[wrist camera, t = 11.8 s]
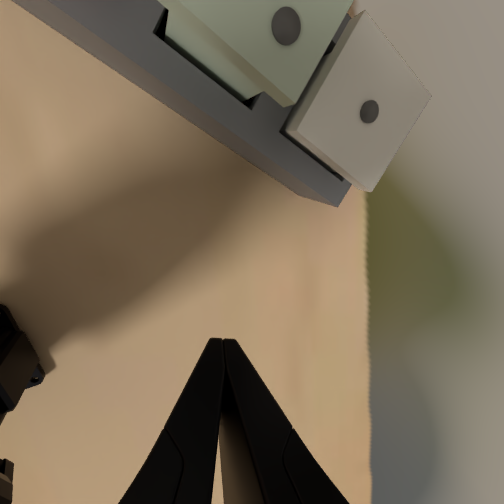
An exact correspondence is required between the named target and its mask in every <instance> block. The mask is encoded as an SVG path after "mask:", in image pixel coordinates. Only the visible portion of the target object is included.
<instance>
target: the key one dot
mask: <svg viewBox="0 0 504 504" xmlns="http://www.w3.org/2000/svg"><path fill="white" fill-rule="evenodd" d="M431 97H432V96H431V94H430V93H429V92H428V90H427V89H426V88H425V87H424V85H423V84H422V83H421V81H420V80H419V79H418V77H417V76H416V75H415V74H414V72H413V71H412V70H411V69H410V67H409V66H408V65H407V63H406V62H405V61H404V59H403V58H402V57H401V56H400V54H399V53H398V52H397V51H396V49H395V48H394V47H393V45H392V44H391V43H390V42H389V40H388V39H387V37H386V36H385V35H384V34H383V32H382V31H381V30H380V28H379V27H378V26H377V25H376V23H375V22H374V21H373V19H372V18H371V17H370V16H369V14H368V13H367V12H366V10H364V11H362V12H361V13H359V14H358V15H356V16H355V17H353V18H352V19H350V20H349V22H348V24H347V25H346V27H345V29H344V31H343V33H342V34H341V36H340V38H339V40H338V41H337V43H336V45H335V47H334V48H333V50H332V52H331V53H329V54H327V55H325V56H323V57H322V58H321V60H320V61H319V63H318V65H317V67H316V68H315V70H314V72H313V74H312V76H311V77H310V79H309V81H308V83H307V84H306V86H305V88H304V90H303V92H302V93H301V95H300V97H299V99H298V101H297V102H296V104H294V106H293V108H292V109H291V111H290V113H289V115H288V117H287V118H286V120H285V122H284V124H283V125H282V127H281V129H280V131H279V133H281V134H282V135H283V136H284V137H286V138H287V139H288V140H289V141H291V142H292V143H293V144H295V145H296V146H297V147H298V148H300V149H301V150H302V151H303V152H305V153H306V154H307V155H309V156H310V157H311V158H312V159H314V160H315V161H316V162H317V163H319V164H320V165H321V166H323V167H324V168H325V169H326V170H328V171H330V172H337V173H339V174H340V175H341V176H342V177H344V178H345V179H346V180H347V181H349V182H350V183H351V184H352V185H354V186H355V187H356V188H357V189H359V190H363V191H368V192H372V191H373V189H374V187H375V186H376V184H377V183H378V181H379V179H380V178H381V176H382V175H383V173H384V171H385V170H386V168H387V167H388V165H389V163H390V162H391V160H392V159H393V157H394V155H395V154H396V152H397V151H398V149H399V148H400V146H401V144H402V143H403V141H404V140H405V138H406V136H407V135H408V133H409V132H410V130H411V128H412V127H413V125H414V124H415V122H416V120H417V119H418V117H419V116H420V114H421V112H422V111H423V109H424V108H425V106H426V104H427V103H428V101H429V100H430V98H431Z"/></svg>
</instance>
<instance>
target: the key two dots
mask: <svg viewBox="0 0 504 504" xmlns="http://www.w3.org/2000/svg"><path fill="white" fill-rule="evenodd" d="M157 1H158V2H160V3H161V4H162V5H163V6H164V7H166V8H167V9H168V10H169V12H168V19H167V25H166V32H165V38H164V42H165V43H166V44H167V45H169V46H170V47H171V48H172V49H174V50H175V51H176V52H177V53H179V54H180V55H181V56H183V57H184V58H185V59H186V60H188V61H189V62H190V63H191V64H193V65H194V66H195V67H197V68H198V69H199V70H200V71H202V72H203V73H204V74H205V75H207V76H208V77H209V78H211V79H212V80H213V81H214V82H216V83H217V84H218V85H219V86H221V87H222V88H223V89H225V90H226V91H227V92H228V93H230V94H231V95H232V96H233V97H235V98H236V99H237V100H239V101H240V102H243V101H245V100H247V99H249V98H251V97H253V96H255V95H257V94H259V93H261V92H263V91H265V92H266V93H267V94H268V95H269V96H271V97H272V98H273V99H274V100H275V101H276V102H278V103H279V104H280V105H281V106H282V107H287V106H290V105H293V104H296V102H297V101H298V99H299V97H300V95H301V93H302V92H303V90H304V88H305V86H306V84H307V83H308V81H309V79H310V77H311V76H312V74H313V72H314V70H315V68H316V67H317V65H318V63H319V61H320V60H321V58H322V56H323V54H324V52H325V51H326V49H327V47H328V45H329V44H330V42H331V40H332V38H333V36H334V35H335V33H336V31H337V29H338V27H339V26H340V24H341V22H342V20H343V19H344V17H345V15H346V13H347V11H348V10H349V8H350V6H351V4H352V3H353V1H354V0H157Z"/></svg>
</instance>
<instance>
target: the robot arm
mask: <svg viewBox="0 0 504 504" xmlns="http://www.w3.org/2000/svg"><path fill="white" fill-rule="evenodd" d="M33 377H38V378H37V379H35V378H33ZM44 377H45V373H44V371H43V369H42V368H41V366H40V364H39V357H38V356H37V354H36V352H35V350H34V349H33V347H32V345H31V343H30V341H29V340H28V338H27V336H26V334H25V333H24V332H23V331H21V330H20V329H19V327H18V325H17V324H16V322H15V320H14V318H13V317H12V315H11V313H10V311H9V310H8V308H7V307H6V306H4V305H2V304H0V425H1V423H2V421H3V419H4V417H5V415H6V414H7V412H10V411H13V410H14V409H15V407H16V405H17V404H18V402H19V400H20V398H21V396H22V394H23V392H24V390H25V389H27V388H30V387H33V386H36V385H39V384H41V383H42V382H43V379H44ZM218 435H219V446H220V459H221V472H222V485H223V498H224V504H349V502H348V501H347V500H346V499H345V497H344V496H343V495H342V494H341V492H340V491H339V490H338V489H337V487H336V486H335V485H334V484H333V482H332V481H331V480H330V478H329V477H328V476H327V475H326V473H325V472H324V471H323V469H322V468H321V467H320V465H319V464H318V463H317V461H316V460H315V459H314V457H313V456H312V454H311V453H310V452H309V450H308V449H307V447H306V446H305V444H304V443H303V441H302V440H301V438H300V437H299V435H298V434H297V432H296V431H295V429H292V425H291V423H290V422H289V420H288V419H287V417H286V416H285V414H284V412H283V411H282V409H281V408H280V406H279V405H278V403H277V402H276V400H275V399H274V397H273V396H272V394H271V393H270V391H269V389H268V388H267V386H266V385H265V383H264V382H263V380H262V379H261V377H260V376H259V374H258V373H257V371H256V370H255V368H254V367H253V365H252V363H251V362H250V360H249V359H248V357H247V356H246V354H245V353H244V351H243V350H242V348H241V347H240V345H239V344H238V342H237V341H236V340H235V339H227V338H225V339H223V340H222V338H210V339H209V341H208V343H207V344H206V346H205V348H204V350H203V352H202V354H201V356H200V358H199V360H198V362H197V364H196V366H195V368H194V370H193V372H192V374H191V375H190V377H189V379H188V381H187V383H186V385H185V387H184V389H183V391H182V393H181V395H180V397H179V399H178V401H177V403H176V405H175V406H174V408H173V410H172V412H171V414H170V416H169V418H168V420H167V422H166V424H165V426H164V429H163V430H162V431H161V433H160V435H159V437H158V439H157V441H156V443H155V445H154V446H153V448H152V450H151V452H150V454H149V455H148V457H147V459H146V461H145V463H144V464H143V466H142V467H141V469H140V471H139V472H138V474H137V475H136V477H135V479H134V480H133V482H132V483H131V485H130V487H129V488H128V490H127V491H126V493H125V494H124V496H123V497H122V499H121V500H120V502H119V503H118V504H211V501H212V492H213V482H214V473H215V463H216V454H217V445H218ZM13 469H14V463H13V462H11V461H9V460H7V459H3V460H2V459H0V504H11V503H12V491H13V484H12V481H13Z"/></svg>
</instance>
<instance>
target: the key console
mask: <svg viewBox="0 0 504 504" xmlns="http://www.w3.org/2000/svg"><path fill="white" fill-rule="evenodd" d="M12 1H13V2H15V3H16V4H18V5H19V6H21V7H22V8H23V9H25V10H26V11H28V12H29V13H31V14H32V15H34V16H35V17H37V18H38V19H40V20H41V21H43V22H44V23H46V24H47V25H49V26H50V27H51V28H53V29H54V30H56V31H57V32H59V33H60V34H62V35H63V36H65V37H66V38H68V39H69V40H71V41H72V42H74V43H75V44H77V45H78V46H79V47H81V48H82V49H84V50H85V51H87V52H88V53H90V54H91V55H93V56H94V57H96V58H97V59H99V60H100V61H102V62H103V63H105V64H106V65H107V66H109V67H110V68H112V69H113V70H115V71H116V72H118V73H119V74H121V75H122V76H124V77H125V78H127V79H128V80H130V81H131V82H133V83H134V84H135V85H137V86H138V87H140V88H141V89H143V90H144V91H146V92H147V93H149V94H150V95H152V96H153V97H155V98H156V99H158V100H159V101H161V102H162V103H163V104H165V105H166V106H168V107H169V108H171V109H172V110H174V111H175V112H177V113H178V114H180V115H181V116H183V117H184V118H186V119H187V120H189V121H190V122H191V123H193V124H194V125H196V126H197V127H199V128H200V129H202V130H203V131H205V132H206V133H208V134H209V135H211V136H212V137H214V138H215V139H217V140H218V141H219V142H221V143H222V144H224V145H225V146H227V147H228V148H230V149H231V150H233V151H234V152H236V153H237V154H239V155H240V156H242V157H243V158H245V159H246V160H247V161H249V162H250V163H252V164H253V165H255V166H256V167H258V168H259V169H261V170H262V171H264V172H265V173H267V174H268V175H270V176H271V177H273V178H274V179H275V180H277V181H278V182H280V183H281V184H283V185H284V186H286V187H287V188H289V189H290V190H292V191H293V192H295V193H296V194H298V195H299V196H302V197H305V198H309V199H312V200H315V201H318V202H322V203H325V204H328V205H332V206H335V207H338V206H339V204H340V203H341V201H342V200H343V198H344V196H345V195H346V193H347V191H348V190H349V188H350V187H351V185H352V184H351V183H350V182H349V181H347V180H346V179H345V178H344V177H342V176H341V175H340V174H339V173H337V172H330V171H328V170H326V169H325V168H324V167H323V166H321V165H320V164H319V163H317V162H316V161H315V160H314V159H312V158H311V157H310V156H309V155H307V154H306V153H305V152H303V151H302V150H301V149H300V148H298V147H297V146H296V145H295V144H293V143H292V142H291V141H289V140H288V139H287V138H286V137H284V136H283V135H282V134H281V133H279V131H280V129H281V127H282V125H283V124H284V122H285V120H286V118H287V117H288V115H289V113H290V111H291V109H292V108H293V106H294V104H293V105H290V106H287V107H282V106H281V105H280V104H279V103H278V102H276V101H275V100H274V99H273V98H272V97H271V96H269V95H268V94H267V93H266V92H265V91H263V92H261V93H259V94H257V95H255V96H254V98H253V100H252V102H251V104H250V106H249V108H247V107H246V106H245V105H244V104H242V103H241V102H240V101H239V100H237V99H236V98H235V97H233V96H232V95H231V94H230V93H228V92H227V91H226V90H225V89H223V88H222V87H221V86H219V85H218V84H217V83H216V82H214V81H213V80H212V79H211V78H209V77H208V76H207V75H205V74H204V73H203V72H202V71H200V70H199V69H198V68H197V67H195V66H194V65H193V64H191V63H190V62H189V61H188V60H186V59H185V58H184V57H183V56H181V55H180V54H179V53H177V52H176V51H175V50H174V49H172V48H171V47H170V46H169V45H167V44H166V43H165V42H163V41H162V40H161V39H160V38H158V37H157V36H156V35H155V33H156V31H157V29H158V27H159V25H160V23H161V21H162V19H163V17H164V14H165V12H166V10H167V8H166V7H164V6H163V5H162V4H161V3H160V2H158V1H157V0H12ZM350 19H352V18H351V17H350V16H349V15H348V14H347V13H346V15H345V17H344V19H343V20H342V22H341V24H340V26H339V27H338V29H337V31H336V33H335V35H334V36H333V38H332V40H331V42H330V44H329V45H328V47H327V49H326V51H325V52H324V54H323V56H325V55H327V54H329V53H331V52H332V50H333V48H334V47H335V45H336V43H337V41H338V40H339V38H340V36H341V34H342V33H343V31H344V29H345V27H346V25H347V24H348V22H349V20H350ZM323 56H322V57H323Z"/></svg>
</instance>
